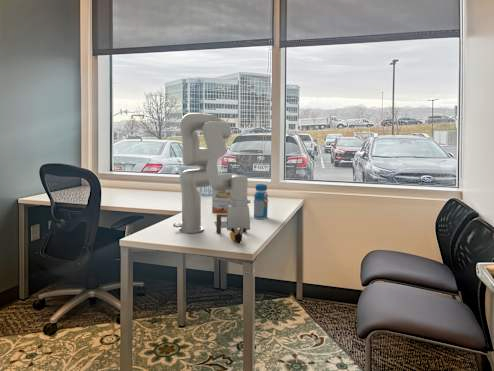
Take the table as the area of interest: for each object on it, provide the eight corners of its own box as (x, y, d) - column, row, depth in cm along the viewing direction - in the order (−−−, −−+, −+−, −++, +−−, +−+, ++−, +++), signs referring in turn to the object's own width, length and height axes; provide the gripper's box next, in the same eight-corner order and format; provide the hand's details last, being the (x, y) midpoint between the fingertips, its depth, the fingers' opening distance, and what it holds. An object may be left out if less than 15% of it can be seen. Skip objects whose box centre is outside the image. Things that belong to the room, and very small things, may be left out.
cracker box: (211, 212, 244) (212, 179, 241) (214, 210, 250) (214, 178, 247) (233, 213, 242) (234, 180, 239) (235, 211, 248) (235, 179, 245)
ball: (230, 243, 179) (230, 230, 178) (228, 239, 185) (229, 227, 184) (243, 242, 180) (243, 230, 179) (241, 239, 186) (241, 226, 185)
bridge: (217, 233, 195) (217, 214, 194) (216, 232, 198) (216, 213, 197) (246, 232, 198) (246, 214, 197) (245, 231, 201) (245, 212, 200)
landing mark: (216, 227, 207) (216, 227, 207) (214, 221, 220) (214, 221, 220) (240, 226, 210) (240, 226, 209) (236, 221, 222) (236, 221, 222)
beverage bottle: (255, 219, 227) (255, 185, 225) (252, 216, 236) (252, 183, 233) (269, 219, 229) (270, 185, 226) (265, 216, 237) (266, 183, 234)
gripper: (253, 201, 178) (252, 239, 181) (221, 201, 176) (220, 240, 178) (256, 204, 171) (255, 244, 173) (223, 204, 168) (222, 245, 171)
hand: (238, 242), depth 176 cm, fingers closed
